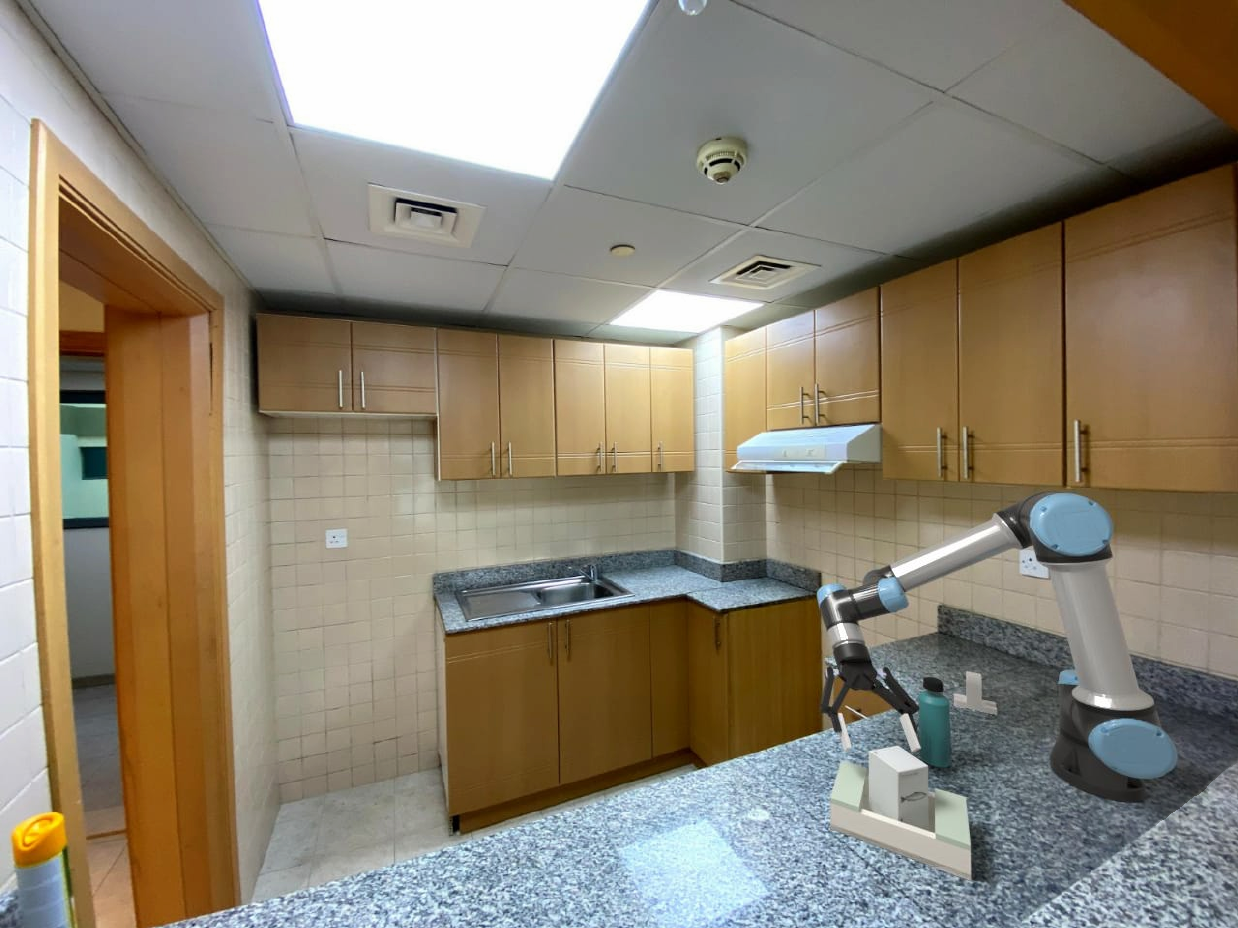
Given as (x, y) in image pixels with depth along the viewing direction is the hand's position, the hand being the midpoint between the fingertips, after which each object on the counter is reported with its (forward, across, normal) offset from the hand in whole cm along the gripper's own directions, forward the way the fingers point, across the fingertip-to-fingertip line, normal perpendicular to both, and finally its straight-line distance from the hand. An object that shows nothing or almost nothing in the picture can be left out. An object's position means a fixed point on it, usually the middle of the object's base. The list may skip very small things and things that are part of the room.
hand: (882, 750), depth 98 cm
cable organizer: (-21, -47, -39) cm, 65 cm away
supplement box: (+12, 0, -4) cm, 12 cm away
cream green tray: (+12, 0, -5) cm, 13 cm away
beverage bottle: (-2, -19, -20) cm, 27 cm away
